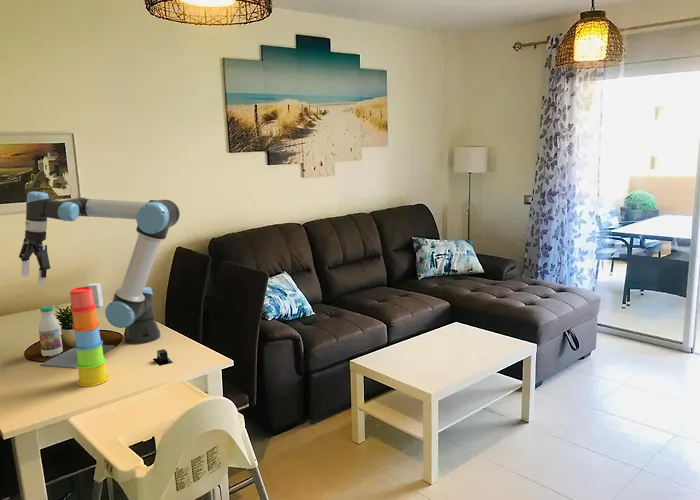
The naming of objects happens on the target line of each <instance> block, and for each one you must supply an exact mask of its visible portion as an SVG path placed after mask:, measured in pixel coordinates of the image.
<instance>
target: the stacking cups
mask: <svg viewBox="0 0 700 500" xmlns="http://www.w3.org/2000/svg"><path fill="white" fill-rule="evenodd" d="M69 297H70V303H71V305H70V306H71V309H70V312H71V313H72V324H73V326H72V327H71V328H72V330H73V332H74V334H73V335H74V340H75V344H74V347H75V349H76V352H77V361H78V362H77V363H76V366H77V370H78V380H77V385H79V387H84V388H85V387H88V388H89V387H96V386H99V385H102V384H104V383H106V382H107V381H108V380H109V377H110V376H109V374H107V369H106V361H107V359H106V358H107V357H104V353H103V350H102V345H103V340H102V339H101V335H100V334H101V333H100V327H99V326H100V322H98V317H97V311H96V308H97V307H96V305H94V301H93V294H92V290H91V289H90V287H86V286H79V287H75V288H72V289H71V290H70V292H69ZM74 347H73V348H74Z"/></svg>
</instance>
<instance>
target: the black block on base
mask: <svg viewBox="0 0 700 500" xmlns="http://www.w3.org/2000/svg"><path fill="white" fill-rule="evenodd" d="M156 356H157V357H156V358H152V360H153V361H154V362H155V364H157V365H158V366H159V367H161V366H165V365H170V364H174V362H173V361H172V360H171V358H169V356H168V351H167V350H166V349H165V348H163V349H159V350H156Z"/></svg>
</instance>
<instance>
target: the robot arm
mask: <svg viewBox="0 0 700 500" xmlns="http://www.w3.org/2000/svg"><path fill="white" fill-rule="evenodd" d="M26 195H27V196H26V202H25V204H26V206H25V207H26V208H25V211H26V212H25V213H26V214H25V221H24V225H25V228H24V229H25V231H24V238H23V243H22V246H21V249H20V252H19V254H18V259H20V260H21V271H20V273H21V274H20V276H21V277H22V278H23V277H30V257H31V256H32V255H34V256H35V258H36V260H37V263H38V265H39V267H38V279H37V281H38V282H37V285H38V286H44V285H46V284H47V273H48V272H47V271H48V270H50V269H51V264H50V259H49V254H48V246H47V244H43V242H44V241H46V239H47V231H46V230H47V228H48V227H47V226H48V219H54V220H60V221H63V222H67V221H68V222H74V221H76V220H77V219H78V217H88V218H90V217H93V218H105V219H106V218H107V219H108V218H109V219H125V220H135V221H136V223H137V225H136V230H135V231H136V233H137V239H136V241H135V243H134V244H135V245H134V248H133V250H132V253H131V257H130V260H129V262H128V266H127V268H126V271H125V275H124V277H123V281H122V285H121V286H120V287H119V288H116V290H115V292H114V294H113V298H112V300H111V302H108V305H107V306H106V307H105V309H104V313H105V314H104V315H105V318H106V320H107V321H108V323H109V324H110V325H112V326H113V327H115V328H119V329H124V328H125V329H124V333H123V342H125V343H127V344H145V343H150V342H154V341H157V340H158V339H159V338H160V337H161V331H160V328H159V326H158V324H157V322H156V319H155V307H154V293H153V290H152V288H151V287H150V286H146V284H147V282H148V278H149V276H150V272H151V270H152V266H153V263H154V261H155V257H156V254H157V252H158V249H159V247H160V243H161V242H162V241H164V240H165V239H166V237H167V235H168V233H169V229H170V228H172V227H173V226H175V225H176V224H177V222H178V221H179V219H180V216H181V214H180V212H181V211H180V208H179V206H178V205H177V204H176V203H175V202H174V201H171V200H169V199H159V200H158V199H150V200H148V201H133V200H130V201H129V200H118V199H117V200H116V199H113V200H112V199H100V198H98V199H96V198H86V197H76V198H71V199H65V200H57V199H51V198H49V194H48V193H47V192H43V191H29V192H28V193H27V194H26Z"/></svg>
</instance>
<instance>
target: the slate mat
mask: <svg viewBox="0 0 700 500" xmlns="http://www.w3.org/2000/svg"><path fill="white" fill-rule="evenodd" d="M115 347H116V345H111V344H109V345H108V344H102V350H103V354H105V353H106V352H108V351H110V350H112V349H115ZM77 362H78V361H77V352H76V349H75V348H74V347H73V348H70V349H67V350H66V351H64V352H62V353H61V354H58V355H55V356H53V357H52V358H50V359H48V360H46V361H44V362H42V363H40V364H39V366H41V367H53V368H54V367H55V368H64V369H78V367H77V366H76V363H77Z"/></svg>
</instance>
